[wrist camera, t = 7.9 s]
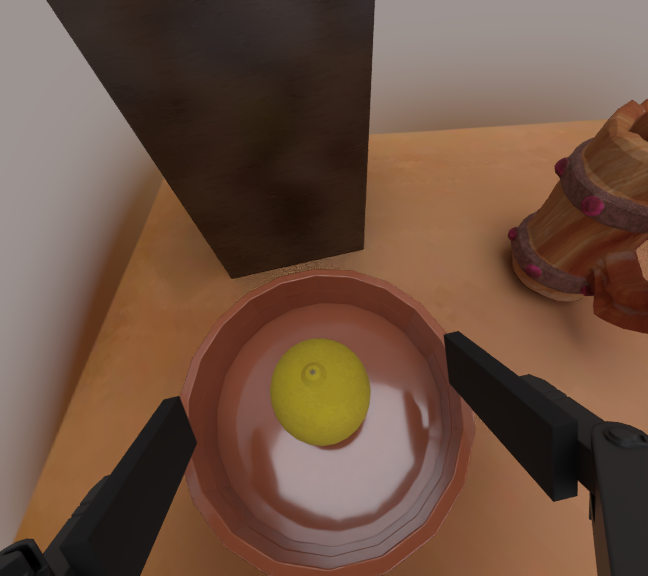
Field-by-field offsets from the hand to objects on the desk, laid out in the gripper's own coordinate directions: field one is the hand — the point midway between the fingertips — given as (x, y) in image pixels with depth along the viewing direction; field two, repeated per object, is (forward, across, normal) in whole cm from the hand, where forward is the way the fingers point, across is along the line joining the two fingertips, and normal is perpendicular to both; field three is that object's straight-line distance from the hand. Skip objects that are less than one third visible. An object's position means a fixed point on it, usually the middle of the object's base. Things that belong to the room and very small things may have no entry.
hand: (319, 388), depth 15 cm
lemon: (+5, 0, -4) cm, 7 cm away
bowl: (+5, 0, -4) cm, 7 cm away
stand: (+18, 0, +8) cm, 20 cm away
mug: (+8, +19, -2) cm, 21 cm away
